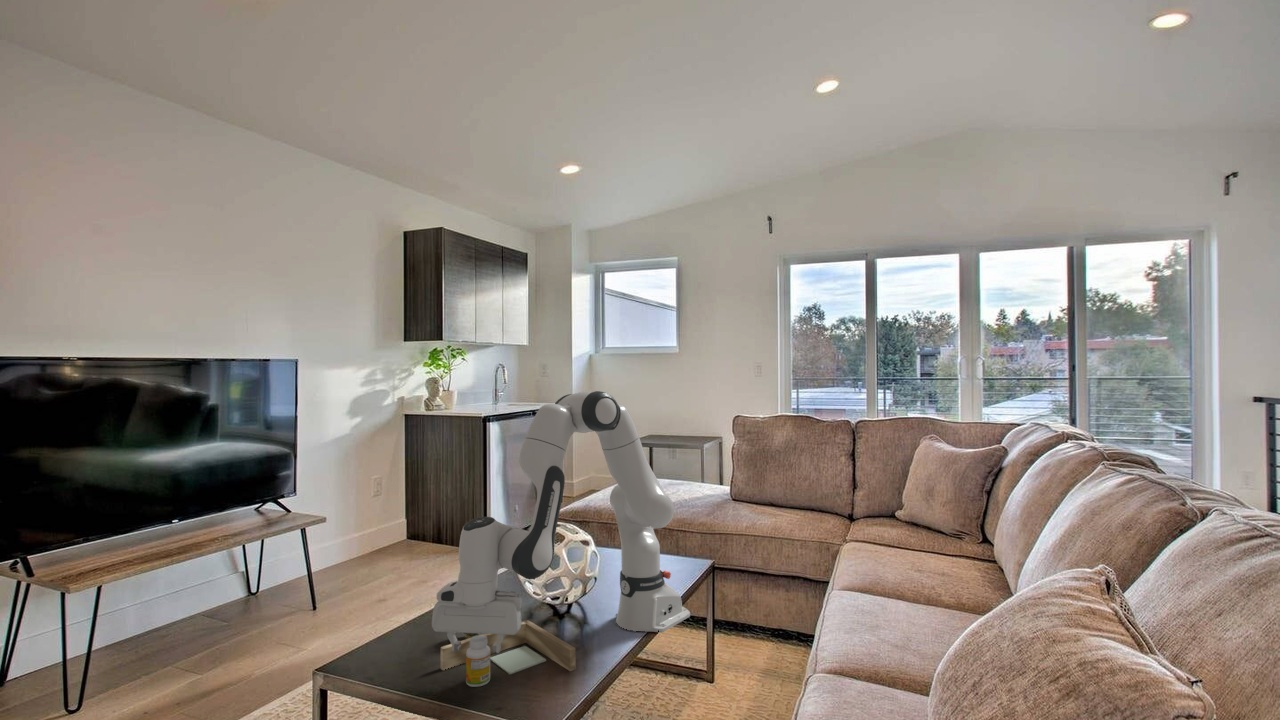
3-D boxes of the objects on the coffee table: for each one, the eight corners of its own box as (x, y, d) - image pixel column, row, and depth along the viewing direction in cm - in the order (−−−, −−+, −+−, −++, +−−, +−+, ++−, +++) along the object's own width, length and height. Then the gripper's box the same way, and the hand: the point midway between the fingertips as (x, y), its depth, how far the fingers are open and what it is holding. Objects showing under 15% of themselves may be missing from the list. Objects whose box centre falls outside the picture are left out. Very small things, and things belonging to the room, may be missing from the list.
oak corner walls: (527, 639, 157) (527, 620, 157) (575, 669, 141) (575, 648, 141) (440, 668, 141) (440, 647, 141) (482, 706, 125) (482, 682, 125)
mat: (525, 647, 152) (525, 645, 152) (546, 661, 145) (546, 659, 145) (489, 659, 146) (489, 657, 146) (509, 674, 138) (509, 672, 138)
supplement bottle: (468, 676, 137) (469, 634, 138) (492, 675, 138) (492, 633, 138) (463, 688, 132) (464, 644, 132) (488, 687, 133) (488, 643, 133)
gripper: (525, 587, 138) (524, 646, 138) (440, 584, 139) (439, 643, 139) (518, 596, 132) (517, 659, 131) (429, 593, 133) (428, 655, 133)
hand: (476, 651), depth 135 cm, fingers open, 8 cm apart
